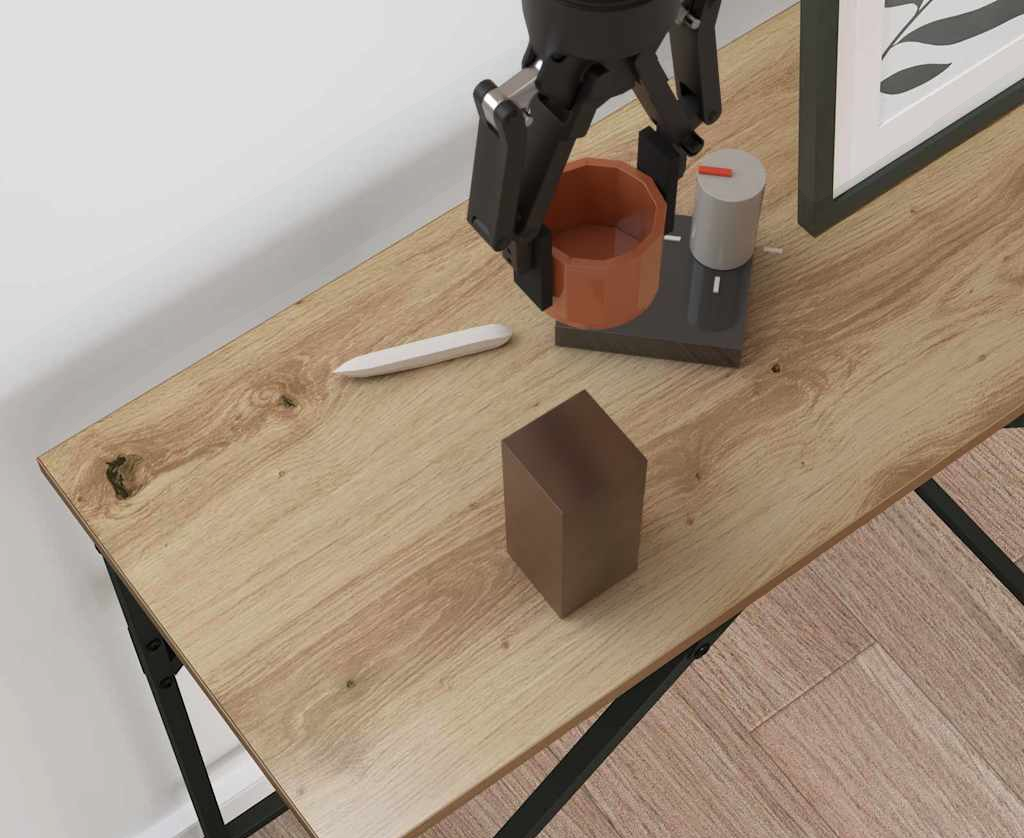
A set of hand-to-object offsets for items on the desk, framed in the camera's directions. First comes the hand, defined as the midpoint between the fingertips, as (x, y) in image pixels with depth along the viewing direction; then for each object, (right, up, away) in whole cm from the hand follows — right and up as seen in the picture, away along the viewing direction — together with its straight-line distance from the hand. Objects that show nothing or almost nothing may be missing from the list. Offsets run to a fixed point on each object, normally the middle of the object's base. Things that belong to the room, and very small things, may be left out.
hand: (594, 255), depth 93 cm
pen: (-11, -3, +29) cm, 32 cm away
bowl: (0, -1, +2) cm, 2 cm away
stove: (+8, +3, +32) cm, 33 cm away
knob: (+11, +6, +31) cm, 33 cm away
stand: (-1, -18, +21) cm, 27 cm away
